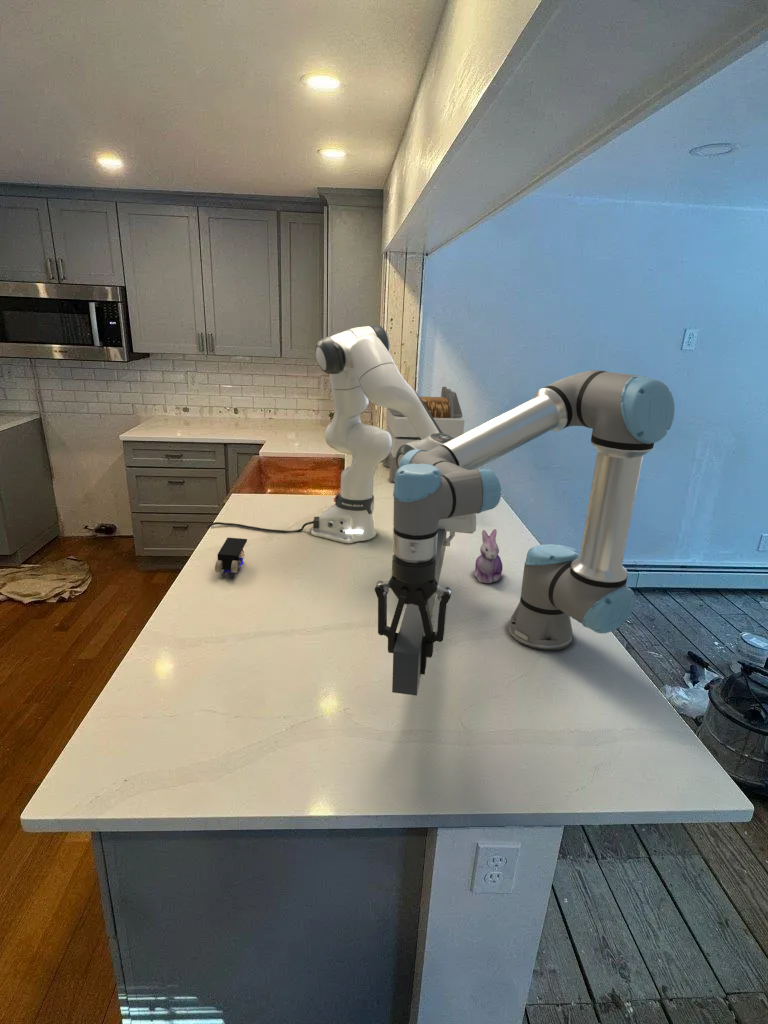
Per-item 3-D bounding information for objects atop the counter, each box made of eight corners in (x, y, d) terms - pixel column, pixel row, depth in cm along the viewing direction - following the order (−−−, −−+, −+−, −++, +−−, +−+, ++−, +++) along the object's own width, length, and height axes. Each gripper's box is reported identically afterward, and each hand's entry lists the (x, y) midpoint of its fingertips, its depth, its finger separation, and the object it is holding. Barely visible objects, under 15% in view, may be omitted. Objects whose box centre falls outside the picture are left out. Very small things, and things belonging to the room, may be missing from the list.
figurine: (485, 587, 164) (491, 539, 159) (465, 572, 172) (469, 526, 167) (511, 581, 168) (517, 534, 163) (490, 567, 176) (495, 522, 171)
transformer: (382, 463, 289) (386, 382, 275) (445, 464, 293) (451, 384, 279) (390, 482, 257) (394, 392, 243) (460, 483, 261) (468, 394, 247)
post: (430, 544, 161) (431, 516, 158) (445, 546, 161) (447, 518, 158) (392, 692, 100) (393, 651, 97) (416, 695, 99) (418, 654, 96)
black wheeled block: (238, 584, 162) (249, 557, 175) (236, 562, 158) (247, 536, 172) (215, 584, 161) (227, 556, 175) (212, 561, 158) (225, 535, 171)
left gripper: (399, 496, 147) (397, 545, 152) (478, 503, 144) (473, 552, 149) (402, 489, 153) (400, 536, 158) (478, 495, 150) (474, 543, 155)
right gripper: (359, 559, 95) (359, 674, 103) (464, 569, 92) (455, 687, 101) (368, 541, 102) (367, 651, 110) (466, 550, 99) (458, 662, 107)
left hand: (436, 544), depth 154 cm, fingers closed on post, 4 cm apart
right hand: (409, 668), depth 105 cm, fingers closed on post, 4 cm apart
